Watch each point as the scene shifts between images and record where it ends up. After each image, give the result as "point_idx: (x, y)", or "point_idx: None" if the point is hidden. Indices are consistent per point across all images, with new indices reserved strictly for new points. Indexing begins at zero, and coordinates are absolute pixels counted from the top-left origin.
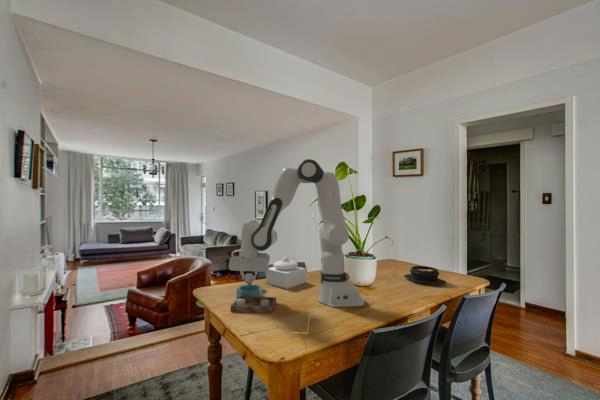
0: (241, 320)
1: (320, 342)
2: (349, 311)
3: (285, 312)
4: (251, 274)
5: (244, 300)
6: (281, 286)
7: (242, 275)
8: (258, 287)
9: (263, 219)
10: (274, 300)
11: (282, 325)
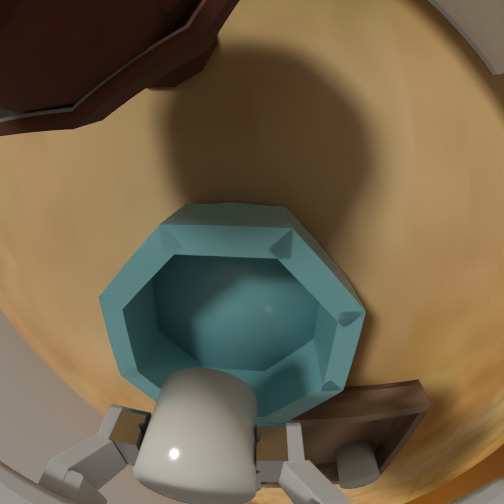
0: (271, 488)
1: (432, 488)
2: None
3: (425, 434)
4: (232, 488)
5: (259, 489)
6: (462, 28)
7: (114, 470)
8: (319, 298)
9: None
10: (409, 436)
11: (389, 482)
